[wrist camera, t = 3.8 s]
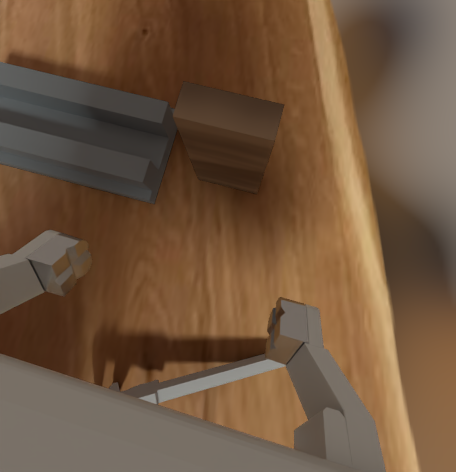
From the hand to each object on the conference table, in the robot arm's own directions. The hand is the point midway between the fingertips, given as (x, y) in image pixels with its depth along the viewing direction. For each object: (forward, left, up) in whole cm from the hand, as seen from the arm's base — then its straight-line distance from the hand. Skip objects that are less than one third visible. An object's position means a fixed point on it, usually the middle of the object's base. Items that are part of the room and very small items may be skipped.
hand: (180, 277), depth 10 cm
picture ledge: (+10, +18, -15) cm, 25 cm away
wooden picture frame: (+10, +1, -15) cm, 18 cm away
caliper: (-10, -1, -15) cm, 18 cm away
